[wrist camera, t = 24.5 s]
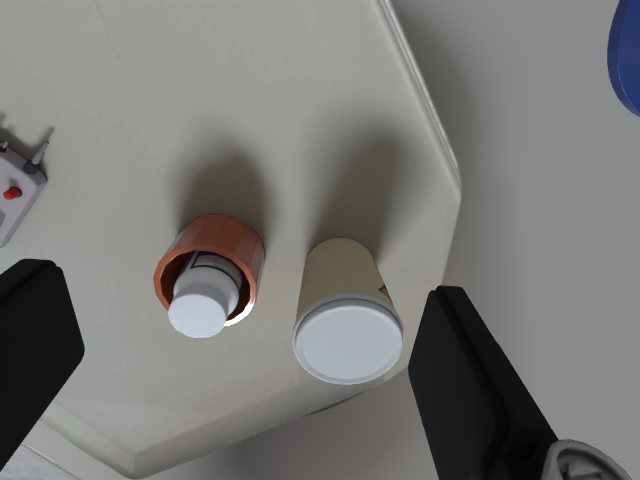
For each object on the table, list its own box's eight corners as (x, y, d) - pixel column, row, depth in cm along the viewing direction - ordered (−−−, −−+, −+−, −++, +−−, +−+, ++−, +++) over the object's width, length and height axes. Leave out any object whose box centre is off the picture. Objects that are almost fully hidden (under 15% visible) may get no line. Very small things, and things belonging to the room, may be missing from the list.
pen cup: (265, 217, 37) (256, 249, 31) (263, 290, 41) (256, 330, 36) (173, 210, 36) (147, 241, 31) (181, 285, 41) (160, 325, 35)
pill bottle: (220, 286, 40) (194, 353, 32) (183, 249, 38) (145, 310, 29) (261, 261, 39) (246, 323, 30) (225, 221, 37) (198, 276, 28)
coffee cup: (372, 305, 43) (392, 391, 32) (293, 298, 42) (286, 383, 31) (389, 235, 38) (419, 307, 28) (301, 225, 37) (297, 296, 27)
